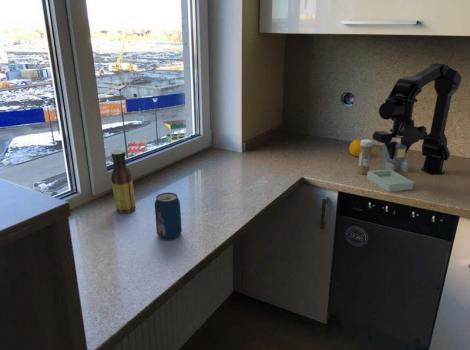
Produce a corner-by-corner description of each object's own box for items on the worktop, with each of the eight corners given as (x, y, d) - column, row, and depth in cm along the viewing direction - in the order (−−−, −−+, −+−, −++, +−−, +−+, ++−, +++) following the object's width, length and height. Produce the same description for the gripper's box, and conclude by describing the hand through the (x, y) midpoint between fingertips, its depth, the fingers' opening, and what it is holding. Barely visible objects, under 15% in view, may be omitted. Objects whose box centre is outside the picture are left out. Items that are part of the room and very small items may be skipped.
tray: (389, 175, 157) (390, 169, 156) (412, 189, 145) (413, 182, 144) (366, 178, 155) (367, 171, 154) (388, 191, 142) (389, 184, 141)
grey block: (390, 155, 151) (393, 140, 148) (404, 162, 143) (407, 146, 141) (381, 156, 150) (383, 140, 148) (394, 163, 142) (397, 147, 140)
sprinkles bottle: (367, 175, 158) (371, 142, 153) (356, 173, 160) (359, 141, 155) (370, 171, 162) (374, 139, 157) (358, 170, 164) (362, 138, 159)
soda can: (182, 229, 116) (180, 191, 112) (180, 241, 110) (178, 201, 106) (159, 229, 116) (156, 191, 112) (155, 241, 110) (152, 202, 105)
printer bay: (397, 166, 167) (399, 155, 166) (407, 172, 161) (409, 160, 160) (381, 168, 166) (383, 157, 164) (391, 173, 160) (393, 161, 158)
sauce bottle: (128, 204, 132) (122, 147, 125) (139, 209, 129) (134, 150, 122) (111, 211, 128) (104, 151, 121) (123, 216, 124) (116, 155, 117)
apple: (345, 154, 184) (346, 138, 182) (358, 152, 187) (360, 136, 185) (356, 159, 177) (358, 142, 175) (370, 156, 180) (372, 140, 178)
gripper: (393, 122, 129) (387, 167, 135) (442, 119, 134) (434, 163, 139) (374, 115, 139) (369, 158, 145) (420, 112, 144) (413, 154, 149)
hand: (396, 158), depth 144 cm, fingers closed on grey block, 4 cm apart
